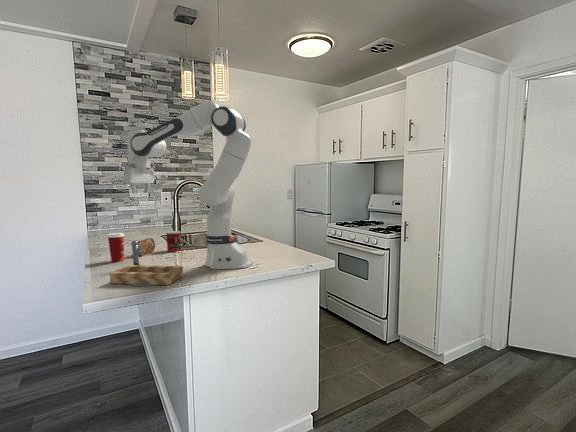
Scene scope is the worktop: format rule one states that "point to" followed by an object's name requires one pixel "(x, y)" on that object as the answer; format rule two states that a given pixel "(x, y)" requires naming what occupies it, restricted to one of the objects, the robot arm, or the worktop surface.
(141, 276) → the oak link
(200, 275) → the worktop surface
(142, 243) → the tin
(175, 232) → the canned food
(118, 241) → the paper cup
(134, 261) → the grey metal rod
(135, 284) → the slate mat
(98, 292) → the worktop surface
